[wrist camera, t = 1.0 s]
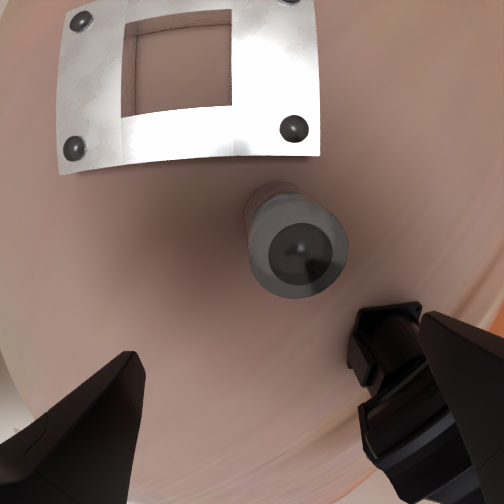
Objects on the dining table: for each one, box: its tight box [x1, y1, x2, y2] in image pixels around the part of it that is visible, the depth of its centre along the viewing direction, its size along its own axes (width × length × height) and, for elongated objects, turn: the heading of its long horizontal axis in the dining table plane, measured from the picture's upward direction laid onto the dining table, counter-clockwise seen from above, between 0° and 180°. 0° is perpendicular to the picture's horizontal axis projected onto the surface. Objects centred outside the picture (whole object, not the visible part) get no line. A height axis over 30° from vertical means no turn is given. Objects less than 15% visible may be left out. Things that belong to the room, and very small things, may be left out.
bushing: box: [245, 182, 348, 299], centre depth 15 cm, size 4×4×7 cm
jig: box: [56, 0, 320, 176], centre depth 13 cm, size 16×12×3 cm
